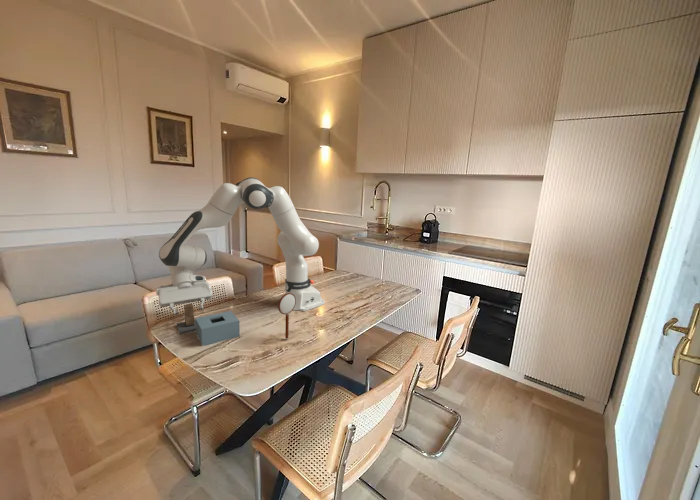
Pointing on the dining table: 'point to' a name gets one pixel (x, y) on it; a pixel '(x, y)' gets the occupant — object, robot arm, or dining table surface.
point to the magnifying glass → (287, 308)
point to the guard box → (217, 327)
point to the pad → (183, 328)
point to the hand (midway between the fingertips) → (189, 311)
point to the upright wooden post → (189, 315)
